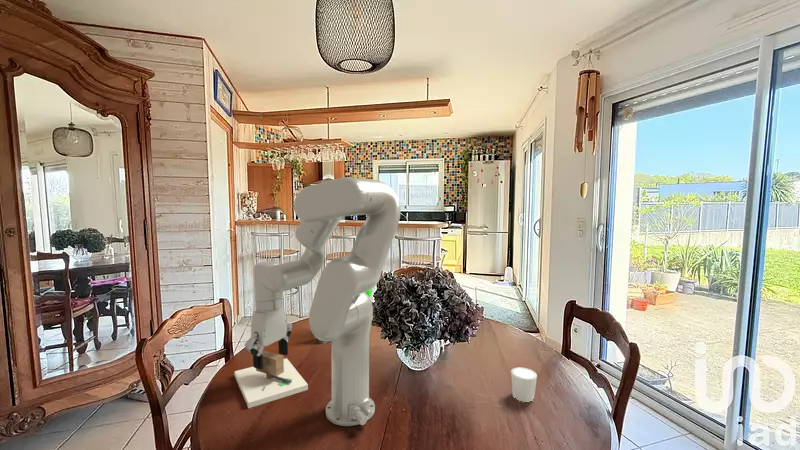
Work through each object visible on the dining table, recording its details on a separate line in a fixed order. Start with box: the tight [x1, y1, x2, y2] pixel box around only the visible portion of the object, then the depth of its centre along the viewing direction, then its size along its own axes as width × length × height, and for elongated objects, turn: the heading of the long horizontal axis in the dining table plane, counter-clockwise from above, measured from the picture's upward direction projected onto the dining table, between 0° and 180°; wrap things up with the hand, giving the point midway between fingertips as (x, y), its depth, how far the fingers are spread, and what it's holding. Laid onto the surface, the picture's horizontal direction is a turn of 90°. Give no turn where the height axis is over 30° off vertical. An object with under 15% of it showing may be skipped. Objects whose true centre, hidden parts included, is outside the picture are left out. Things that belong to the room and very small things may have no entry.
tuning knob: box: [256, 349, 292, 383], centre depth 102 cm, size 12×3×7 cm, turn 65°
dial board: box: [234, 357, 309, 409], centre depth 103 cm, size 20×16×2 cm
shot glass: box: [510, 366, 538, 403], centre depth 97 cm, size 7×7×7 cm
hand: (271, 361), depth 103 cm, fingers open, 9 cm apart
